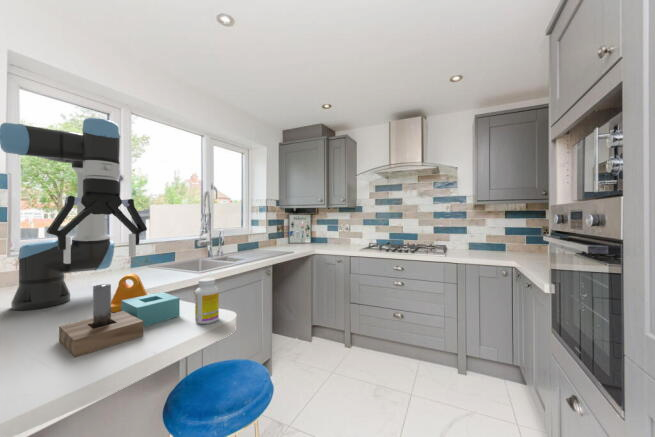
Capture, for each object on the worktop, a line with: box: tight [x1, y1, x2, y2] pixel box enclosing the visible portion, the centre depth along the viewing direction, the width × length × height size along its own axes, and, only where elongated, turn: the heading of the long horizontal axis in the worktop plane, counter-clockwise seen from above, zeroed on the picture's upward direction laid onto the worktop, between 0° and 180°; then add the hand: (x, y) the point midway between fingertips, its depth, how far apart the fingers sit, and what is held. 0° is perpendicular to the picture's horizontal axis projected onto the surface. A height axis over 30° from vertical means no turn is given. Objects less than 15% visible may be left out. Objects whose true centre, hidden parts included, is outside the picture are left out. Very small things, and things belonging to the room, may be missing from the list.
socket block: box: [58, 311, 144, 358], centre depth 72 cm, size 14×14×4 cm
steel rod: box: [92, 283, 112, 329], centre depth 72 cm, size 4×4×14 cm
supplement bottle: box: [194, 277, 220, 325], centre depth 84 cm, size 7×7×13 cm
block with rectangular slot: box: [121, 291, 181, 328], centre depth 87 cm, size 12×12×6 cm
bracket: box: [111, 273, 148, 314], centre depth 94 cm, size 11×7×12 cm
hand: (102, 259), depth 72 cm, fingers open, 13 cm apart
